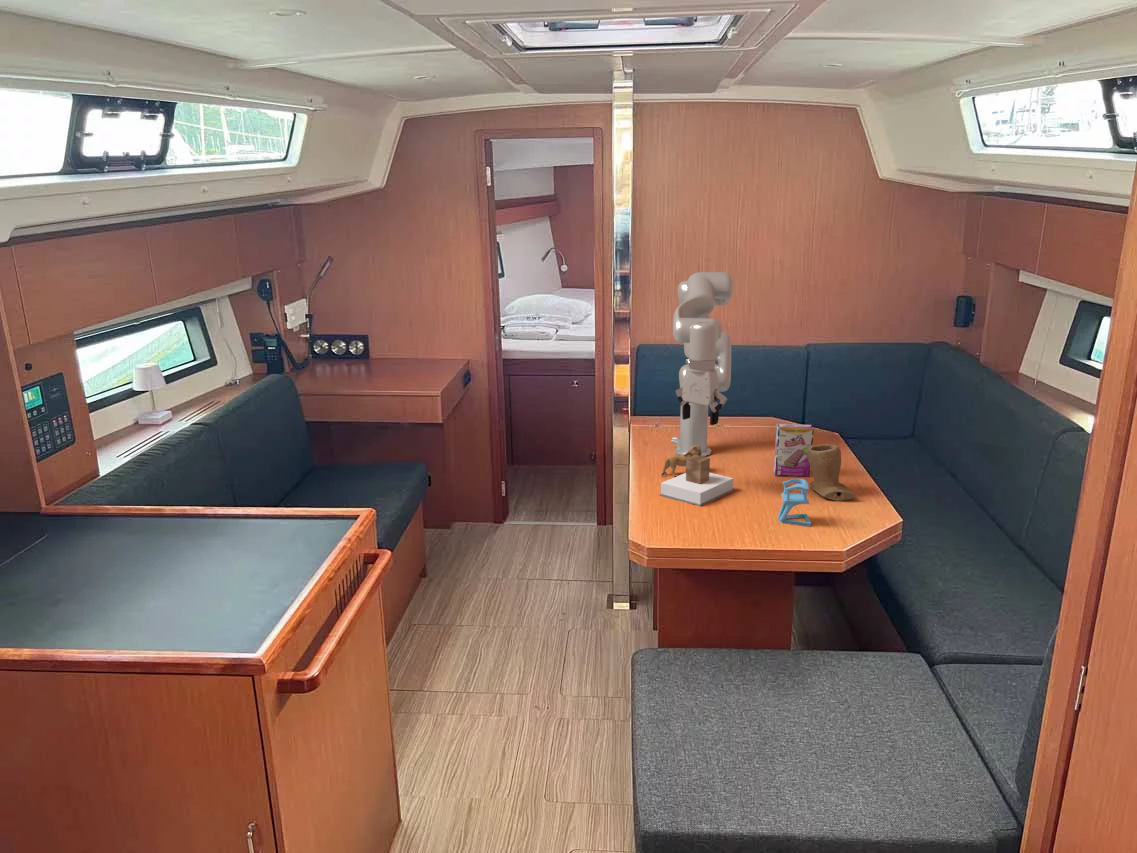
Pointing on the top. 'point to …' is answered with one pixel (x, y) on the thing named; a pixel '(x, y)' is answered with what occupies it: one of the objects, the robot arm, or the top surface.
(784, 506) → the chair
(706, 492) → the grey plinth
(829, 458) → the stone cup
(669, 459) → the lion figurine
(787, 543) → the top surface
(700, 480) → the walnut block
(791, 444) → the candy bar box
